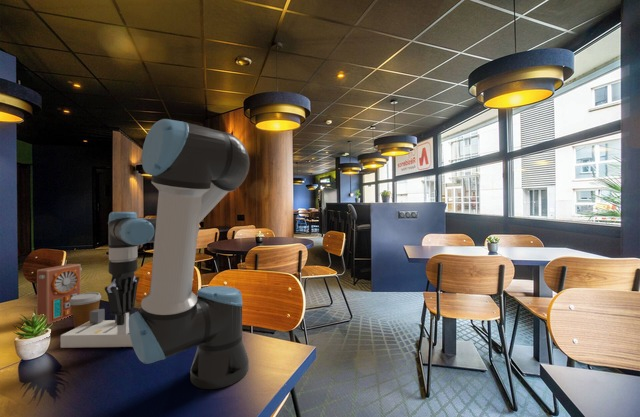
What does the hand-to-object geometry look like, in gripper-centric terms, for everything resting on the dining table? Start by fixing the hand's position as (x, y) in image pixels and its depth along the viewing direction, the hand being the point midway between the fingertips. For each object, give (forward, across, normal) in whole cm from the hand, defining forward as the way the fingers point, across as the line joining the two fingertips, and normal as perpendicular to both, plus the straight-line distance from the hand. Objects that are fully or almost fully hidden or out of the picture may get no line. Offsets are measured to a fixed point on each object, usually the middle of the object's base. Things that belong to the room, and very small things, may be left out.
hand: (123, 333), depth 87 cm
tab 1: (+1, -13, -18) cm, 22 cm away
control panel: (+6, -28, -45) cm, 53 cm away
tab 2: (+1, -13, -9) cm, 15 cm away
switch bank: (+6, -8, -9) cm, 13 cm away
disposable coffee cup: (+6, -19, -27) cm, 33 cm away
